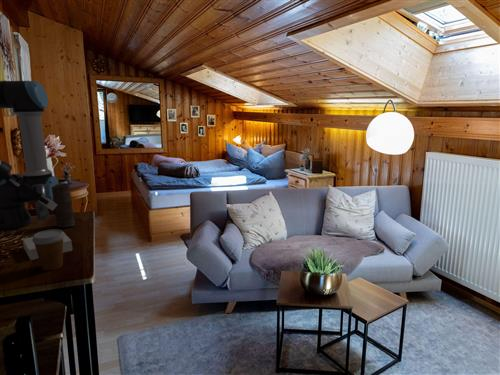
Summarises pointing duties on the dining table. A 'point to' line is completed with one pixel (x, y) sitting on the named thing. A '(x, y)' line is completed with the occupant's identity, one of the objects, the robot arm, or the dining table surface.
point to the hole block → (32, 251)
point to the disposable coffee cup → (49, 248)
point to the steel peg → (40, 208)
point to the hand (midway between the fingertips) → (53, 206)
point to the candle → (63, 205)
